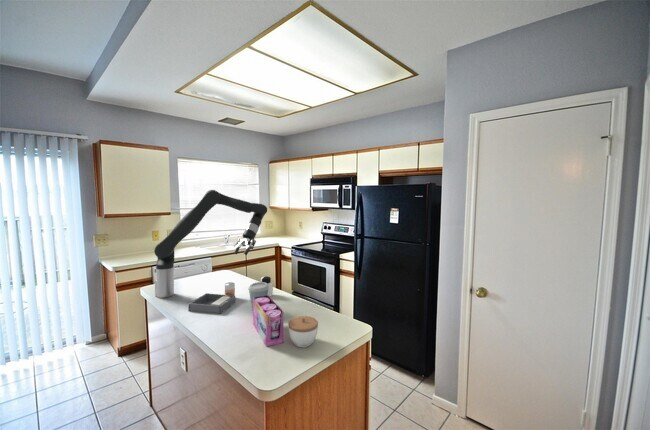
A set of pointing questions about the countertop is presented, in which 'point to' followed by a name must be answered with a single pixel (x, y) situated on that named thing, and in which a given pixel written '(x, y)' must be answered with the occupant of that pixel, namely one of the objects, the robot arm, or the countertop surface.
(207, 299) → the tote
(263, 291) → the disposable coffee cup
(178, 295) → the countertop surface
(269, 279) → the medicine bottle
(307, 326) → the lidded bowl
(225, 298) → the cream rectangular block
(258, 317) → the gum box
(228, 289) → the silver lidded jar
